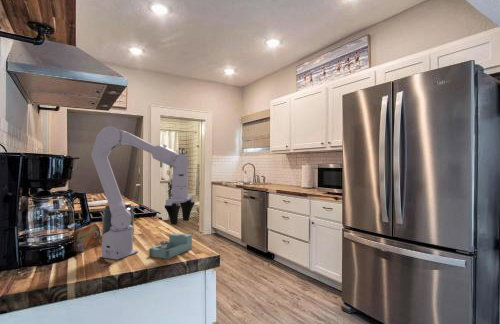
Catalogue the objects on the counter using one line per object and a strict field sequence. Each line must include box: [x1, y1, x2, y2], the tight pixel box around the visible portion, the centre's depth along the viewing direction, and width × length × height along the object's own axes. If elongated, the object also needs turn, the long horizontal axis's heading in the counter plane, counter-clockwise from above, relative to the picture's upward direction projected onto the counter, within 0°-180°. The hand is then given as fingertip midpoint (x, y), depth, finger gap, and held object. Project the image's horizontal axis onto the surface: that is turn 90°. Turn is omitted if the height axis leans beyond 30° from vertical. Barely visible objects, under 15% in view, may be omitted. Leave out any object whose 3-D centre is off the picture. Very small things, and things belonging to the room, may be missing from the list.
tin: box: [71, 224, 101, 253], centre depth 107 cm, size 15×3×8 cm, turn 179°
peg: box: [159, 240, 169, 250], centre depth 99 cm, size 2×2×5 cm
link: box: [148, 232, 193, 259], centre depth 102 cm, size 13×8×5 cm, turn 156°
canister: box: [101, 199, 135, 236], centre depth 128 cm, size 13×13×18 cm
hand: (180, 222), depth 108 cm, fingers open, 7 cm apart
